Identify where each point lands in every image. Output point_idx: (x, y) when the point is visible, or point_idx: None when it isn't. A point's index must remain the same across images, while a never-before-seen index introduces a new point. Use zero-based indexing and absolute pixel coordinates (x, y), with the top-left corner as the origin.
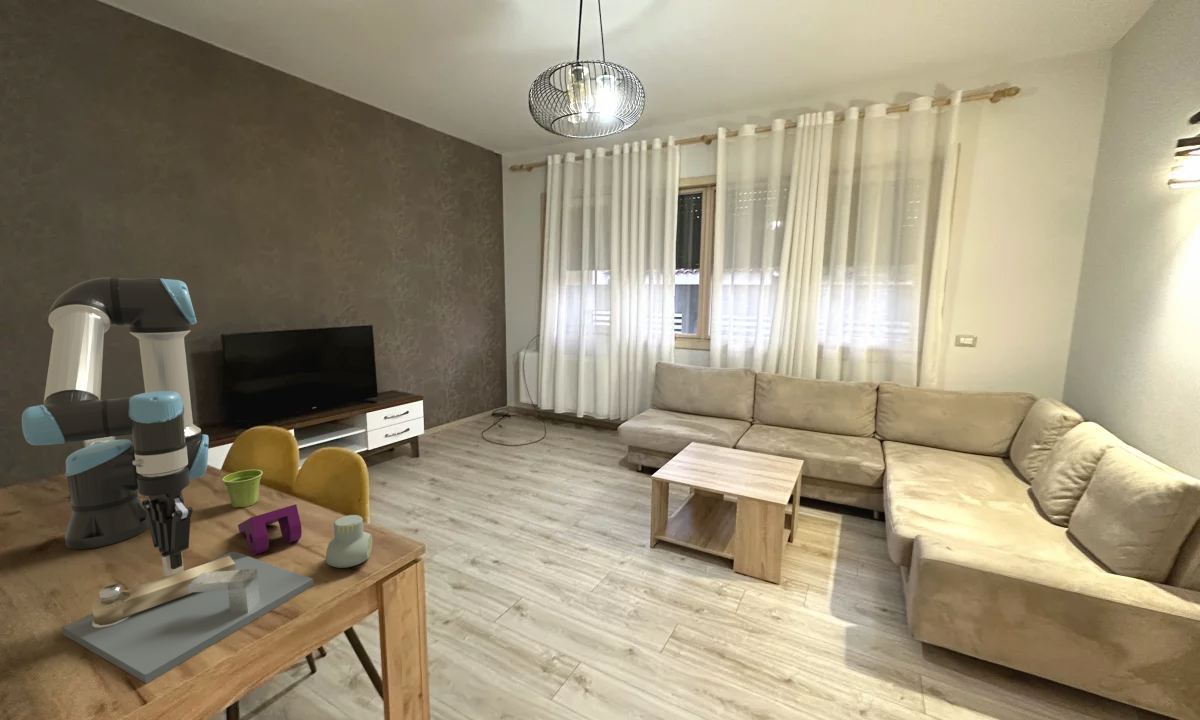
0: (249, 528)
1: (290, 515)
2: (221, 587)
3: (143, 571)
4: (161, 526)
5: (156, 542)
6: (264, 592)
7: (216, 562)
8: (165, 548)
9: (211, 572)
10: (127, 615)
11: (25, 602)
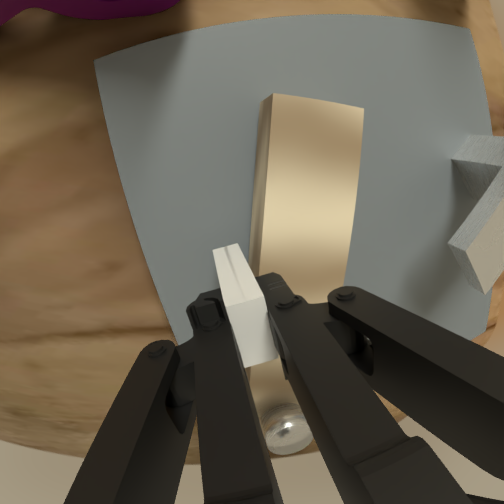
0: None
1: None
2: None
3: (5, 290)
4: (278, 487)
5: (196, 412)
6: (455, 112)
7: (292, 148)
8: (242, 366)
9: (483, 230)
10: None
11: (34, 438)
